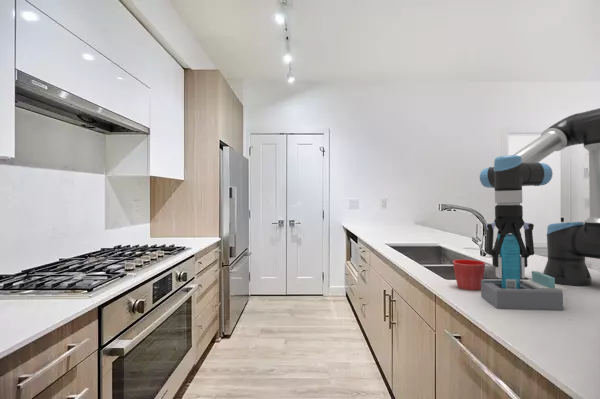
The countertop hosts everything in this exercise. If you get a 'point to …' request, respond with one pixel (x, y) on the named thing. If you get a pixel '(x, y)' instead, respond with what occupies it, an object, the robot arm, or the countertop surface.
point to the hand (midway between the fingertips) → (510, 277)
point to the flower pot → (469, 273)
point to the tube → (510, 262)
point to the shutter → (542, 282)
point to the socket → (521, 296)
